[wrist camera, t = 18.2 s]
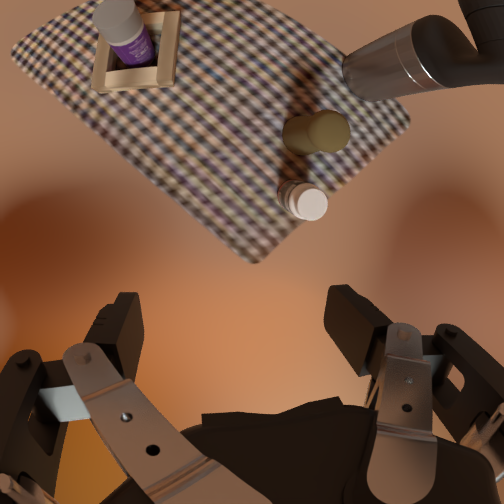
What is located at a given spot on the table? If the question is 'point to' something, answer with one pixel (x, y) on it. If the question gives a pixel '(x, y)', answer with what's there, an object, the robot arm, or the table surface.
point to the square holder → (144, 77)
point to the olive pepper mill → (316, 133)
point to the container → (125, 32)
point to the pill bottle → (302, 199)
